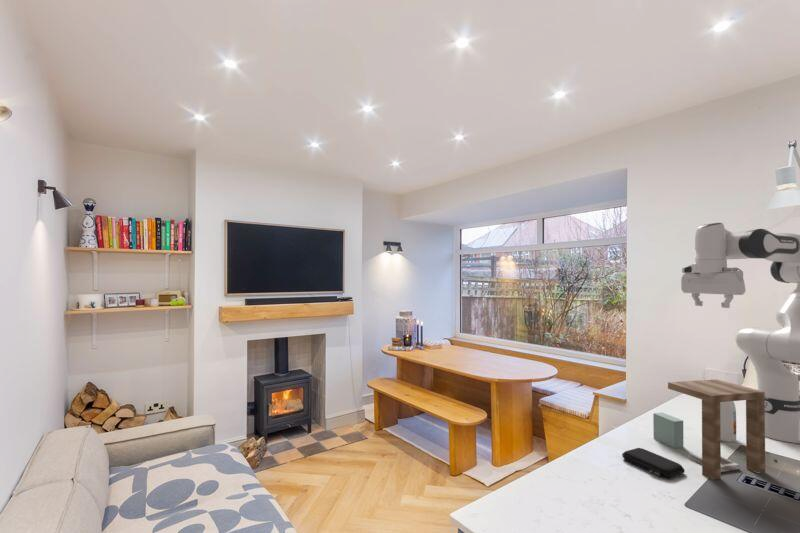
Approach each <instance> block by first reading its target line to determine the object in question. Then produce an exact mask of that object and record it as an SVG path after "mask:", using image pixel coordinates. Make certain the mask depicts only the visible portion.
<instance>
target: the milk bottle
mask: <svg viewBox="0 0 800 533" xmlns="http://www.w3.org/2000/svg"><path fill="white" fill-rule="evenodd" d="M720 431H721V442H727V443H735V442H736V441H737V410H736V404H735V401H728V402H720Z"/></svg>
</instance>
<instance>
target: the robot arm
mask: <svg viewBox="0 0 800 533" xmlns="http://www.w3.org/2000/svg"><path fill="white" fill-rule="evenodd" d="M694 235H695V236H694V250H695V253H696V254H695V255H696V256H695V258H694V259H695V260H694V263H691V264H689V265H687V266H685V267H682V268H681V272H682V273H683V274H682V276H681V281H680V284H681V286H680V287H681V292H682V293H683V294H691V297H692V299H693V300H694V305H695V306H696V307H703V305H704V303H703V302H704V301H703V300H701V299H700V296H701V294H702V295H703V294H705V295H706V294H707V295H708V294H709V295H723V296H724V301H723V302H721V304H720V305H721V306H720V307H721V308H722V309H730V307H731V306H730V305H731V302H732V300H733V299H734V295H735V296H742V295H744V294H745V293H746V283H745V279H744V271H743V270H742V269H741V268H739V267H728V260H742V259H744V260H745V259H764V260H765V261H766V260H767V261H771V262H772V263H771V264H770V269H769V271H770V275H771V277H772V278H773V279H774V280H775V281H776V282H780V283H785V284H790V283H791V284H792V283H793V284H796V288H795V289H794V290H793V291H792V292H791V293H790V294H789V295H788V296H787V297H786V299H785V300H784V301H783V302H782V305H781V306H780V307H779V309H778V310H777V311H776V312H775V319H776V321H777V323H778V325H780V326H782V327H783V328H781V329H774V328H773V329H772V328H764V327H747V328H746V327H745V328H742V329H740V330H739V331H738V333H737V334H736V337H735V342H736V346H737V347H738V348H739V349H740V351H742V352H743V353H744V354H745V355H746V356H747V357H748V358H749V360H750V361H751V363H752V365H753V366H754V370H755V372H756V374H755V375H756V383H757V390H759V391H763V392H765V438H766V437H767V438H770V439H773V440H776V441H782V442H788V443H794V444H800V380H799V378H798V376H796V374H795V373H793V372H792V371H790V370H788V369H787V367H786V366H785V365H784V363H783V362H790V363H795V364H800V234H796V233H788V232H777V233H773V232H771V231H769V230H768V229H765V228H757V229H756V228H755V229H751V230H744V231H735V232H732V231H729V230H727V229H726V228H725V225H724V223H722V222H714V223H707V224H702V225H701V224H700V226H698V227H697V228H696V231H695V234H694Z"/></svg>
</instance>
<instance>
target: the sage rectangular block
mask: <svg viewBox="0 0 800 533" xmlns="http://www.w3.org/2000/svg"><path fill="white" fill-rule="evenodd" d="M652 416H653V419H652V420H653V421H652V422H653V439H654V440H656V441H658V442H661V443H663V444H665V445H667V446H669V447H671V448H673V449H677V448H678V449H679V448H684V420H683V419H680V418H678V417H675V416H672V415H670V414H667V413H665V412H654V413H653V415H652Z"/></svg>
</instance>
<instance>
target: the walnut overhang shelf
mask: <svg viewBox="0 0 800 533" xmlns="http://www.w3.org/2000/svg"><path fill="white" fill-rule="evenodd" d="M667 389H668V390H671V391H673V392H677V393H681V394H683V395H687V396H689V397H693V398H696V399H699V400H701V457H700V456H698V455H695V454H693V453H692V452H691V453H688V459H689V460H692V461H693V462H696V463H697V464H699V465H701V469H702V470H701V475H702V476H704V477H706V478H708V479H710V480H712V481H715V480H721V479H722V473H723V472H725V473H726V472H731V471H730V470H732V471H737V470H738V469H739V470H740V464H739V463H737V462H734V461H733V460H731V459H727V458H725V457H724V456H721V455H722V454H721V452H722V451H721V449H722V448H721V446H722V444H721V442H722V441H721V431H720V402H728V401H733V402H737V401H745V434H746V435H745V438H746V439H745V440H746V442H745V444H746V446H745V448H746V450H745V451H746V452H745V453H746V456H745V460H746V461H745V462H746V468H747V470H748V469H750V470H749V471H751V470H753V471H755V472H765V473H766V436H765V392H763V391H759V390H758V389H754V388H751V387H746V386H743V385H739V384H736V383H732V382H729V381H724V380H720V379H702V380H688V381H685V380H684V381H669V382H667ZM739 470H738V471H739ZM753 471H752V472H753ZM755 472H754V473H755Z"/></svg>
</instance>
